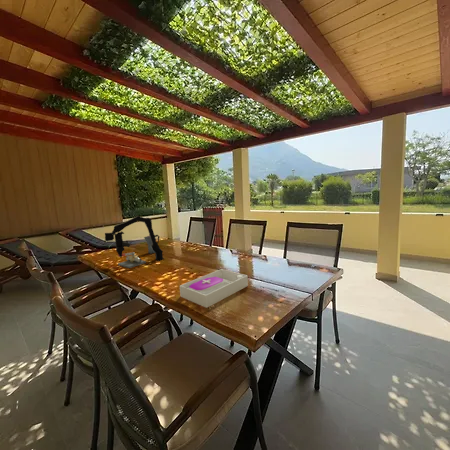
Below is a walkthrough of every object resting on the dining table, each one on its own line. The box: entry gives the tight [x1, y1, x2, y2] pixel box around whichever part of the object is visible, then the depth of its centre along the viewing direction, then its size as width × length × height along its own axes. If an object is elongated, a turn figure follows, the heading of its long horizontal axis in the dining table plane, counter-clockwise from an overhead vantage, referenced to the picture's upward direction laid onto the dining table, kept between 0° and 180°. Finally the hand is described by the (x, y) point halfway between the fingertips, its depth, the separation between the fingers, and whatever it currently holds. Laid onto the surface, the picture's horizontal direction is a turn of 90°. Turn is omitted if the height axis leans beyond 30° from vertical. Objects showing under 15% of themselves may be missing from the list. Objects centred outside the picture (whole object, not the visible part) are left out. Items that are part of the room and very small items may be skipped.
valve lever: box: [117, 251, 135, 258], centre depth 208 cm, size 13×2×2 cm, turn 110°
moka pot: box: [143, 234, 160, 255], centre depth 246 cm, size 10×15×20 cm, turn 115°
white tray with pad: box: [179, 268, 249, 308], centre depth 143 cm, size 22×35×7 cm, turn 137°
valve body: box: [125, 255, 142, 263], centre depth 211 cm, size 18×5×6 cm, turn 53°
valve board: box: [117, 259, 147, 269], centre depth 210 cm, size 18×16×2 cm
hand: (120, 257), depth 205 cm, fingers closed
